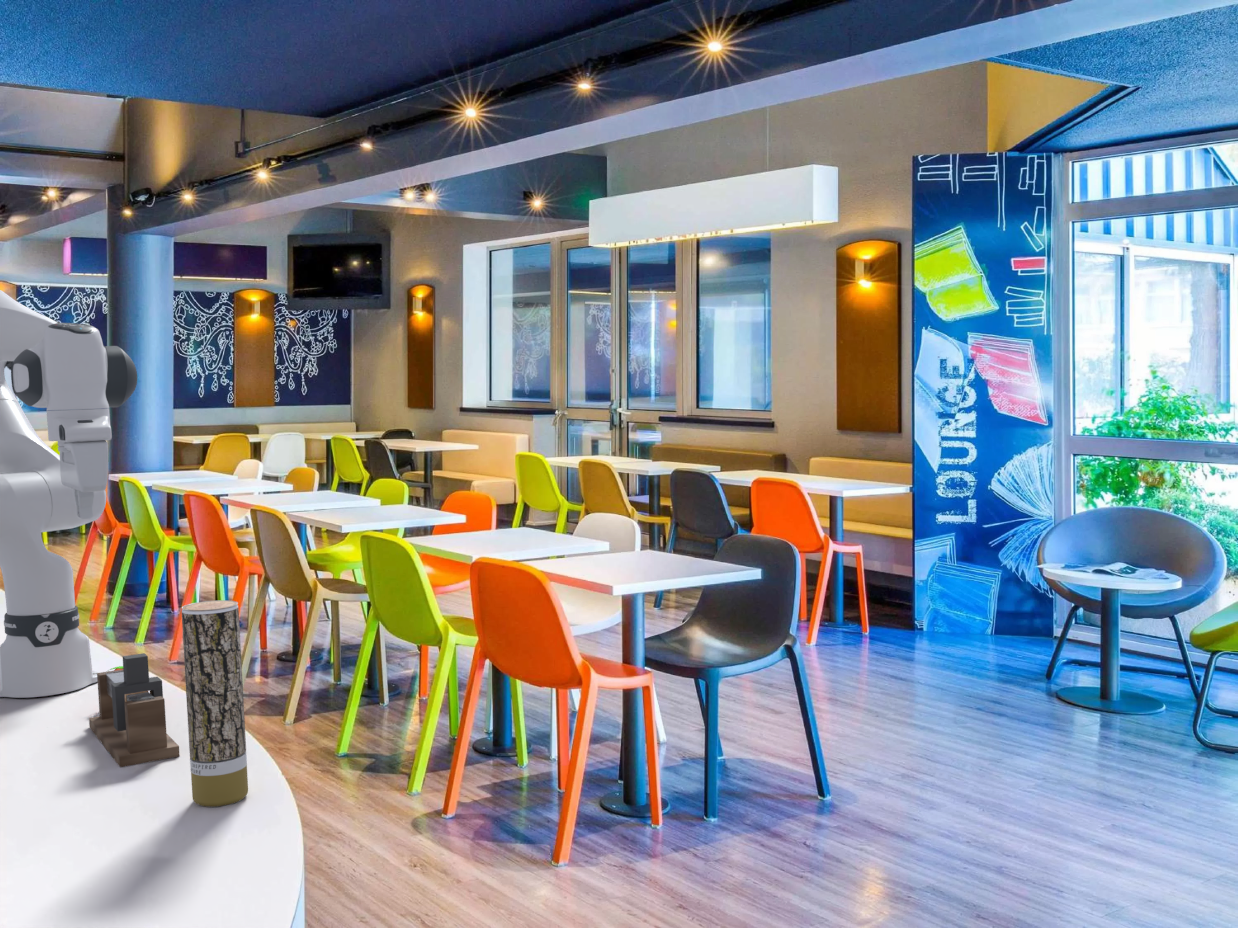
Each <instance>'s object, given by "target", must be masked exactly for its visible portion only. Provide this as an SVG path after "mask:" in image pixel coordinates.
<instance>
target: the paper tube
mask: <svg viewBox="0 0 1238 928" xmlns="http://www.w3.org/2000/svg"><path fill="white" fill-rule="evenodd" d="M238 604H239V602H238V601H235V600H227V599H226V600H207V601H206V600H205V601H199V602H192V603H188V604H185V605H183V606H182V607H181V624H182V641H183V655H184V656H183V660H184V678H185V695H186V713H187V727H188V728H187V729H188V730H187V732H188V745H189V746H188V750H189V764H190V766H189V767H190V776H191V779H190V780H191V793H192V794H191V795H192V797H191V798H192V800H193V802H194V803H195V804H197V805H198V806H202V807H207V808H208V807H210V808H211V807H212V808H213V807H215V808H217V807H223V806H229V805H232V804H235V803H238V802H240V801H242V800H243V799H245V798H246V797H247V796H248V793H249V784H248V783H249V782H248V780H249V779H248V759H247V755H248V754H247V742H246V741H247V739H246V720H245V701H244V687H243V686H244V685H243V683H244V682H243V670H242V669H243V666H242V664H243V663H242V647H241V645H242V644H241V632H240V631H241V629H240V628H241V626H240V614H239V613H240V609H239V605H238Z"/></svg>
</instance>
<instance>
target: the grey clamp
mask: <svg viewBox="0 0 1238 928" xmlns="http://www.w3.org/2000/svg"><path fill="white" fill-rule="evenodd" d="M122 666H123V672H124V682H118V683H112V684H111V688H112V704H113V720H114V728H115V729H116V730H117V731H118V732H119V731H124V730H126V720H125V704H124V702H125V694H131V693H137V692H143V691H148V692H149V693H150V694H151V695H152V696H153V697H159V696H162V697H163V698H164V694H163V693H164V692H163V680H162V679H161V678H160V677H158V676H151V677H150V672H149V656H148V655H147V654H146V653H143V652H141V653H136V654H129V655H123V656H122Z"/></svg>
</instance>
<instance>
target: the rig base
mask: <svg viewBox="0 0 1238 928" xmlns="http://www.w3.org/2000/svg"><path fill="white" fill-rule="evenodd" d="M114 670H115V669H114ZM114 670H109V671H108V670H107V672H106V671H102V672H98V673H97V680H98V682H97V693H98V694H97V695H98V710H99V716H93V717H89V718H88V724H89V725H88V726H89V729H90V730H91V731H92V732H93V734H94V735H95V737H96V738H97V739H98V741H99V742H100V743H101V744H102V746H103V747H104V748H105V750H106V751H107V753H109V755H110V756H111V757H112V758H113V760H114V762H115V763H116V764H117V765H118V767H119V768H125V767H129V766H135V765H140V764H145V763H146V764H147V763H150V762H152V763H153V762H156V761H157V762H158V761H161V760H167V759H172V757H173V758H177V757H180V745H178V744H177V742H176V741H175V740H174V739H173V738H172V737H171V736H170V735H169V734H168V733H167V721H166V720H167V719H166V705H165V703H166V702H165V700H166V699H165V698H164V696H163V697H162V696H159V697H154V698H155V699H149V698H148V699H149V700H146V699H145V700H144V701H140V700H139V701H137V700H136V701H137V702H135V701H134V702H133V701H127V702H124V704H125V720H126V730H124V731H119V732H118V731H117V730H116V729H115V728H114V720H113V704H112V698H111V697H110V696H109V695H108V694H107V680H106V674H107V673H108V674H109V673H110V672H117V671H118V672H117V673H119V672H120V671H123V669H122V670H115V671H114Z"/></svg>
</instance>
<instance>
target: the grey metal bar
mask: <svg viewBox="0 0 1238 928" xmlns="http://www.w3.org/2000/svg"><path fill="white" fill-rule="evenodd" d="M117 672H118V671H117ZM117 672H110V673H109V674H108V673H107V674H106V680H107V694H108V695H109V696H110V697H111V698H112V688H111V684H112V683H118V682H124V672H123V671H120V672H119V673H117ZM148 698H149V699H155V698H154V697H153V696H152V695H151V694H150V691H143V692H137V693H131V694H125V702H127V701H133V702H134V701H135V702H137V701H139V700H140V701H144V700H145V699H146V700H149V699H148ZM136 700H137V701H136Z"/></svg>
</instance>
